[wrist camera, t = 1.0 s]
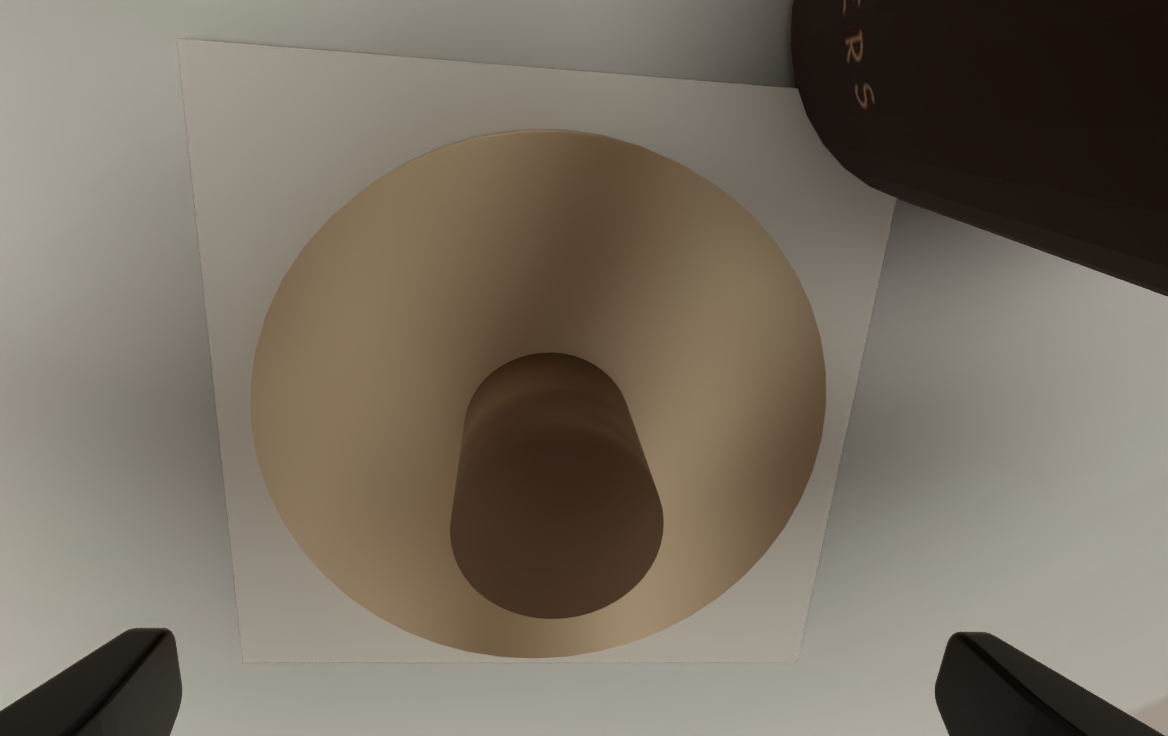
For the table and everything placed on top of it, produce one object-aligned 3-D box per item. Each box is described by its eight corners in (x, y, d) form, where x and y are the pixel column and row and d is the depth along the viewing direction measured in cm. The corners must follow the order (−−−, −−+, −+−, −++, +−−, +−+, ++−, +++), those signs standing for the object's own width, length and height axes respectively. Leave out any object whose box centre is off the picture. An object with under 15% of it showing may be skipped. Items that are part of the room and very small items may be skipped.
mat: (908, 97, 14) (918, 97, 14) (791, 650, 19) (797, 662, 18) (186, 39, 13) (176, 38, 13) (248, 651, 17) (243, 662, 17)
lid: (854, 150, 14) (999, 179, 10) (763, 627, 18) (839, 793, 14) (243, 106, 13) (114, 120, 9) (286, 627, 17) (210, 809, 13)
